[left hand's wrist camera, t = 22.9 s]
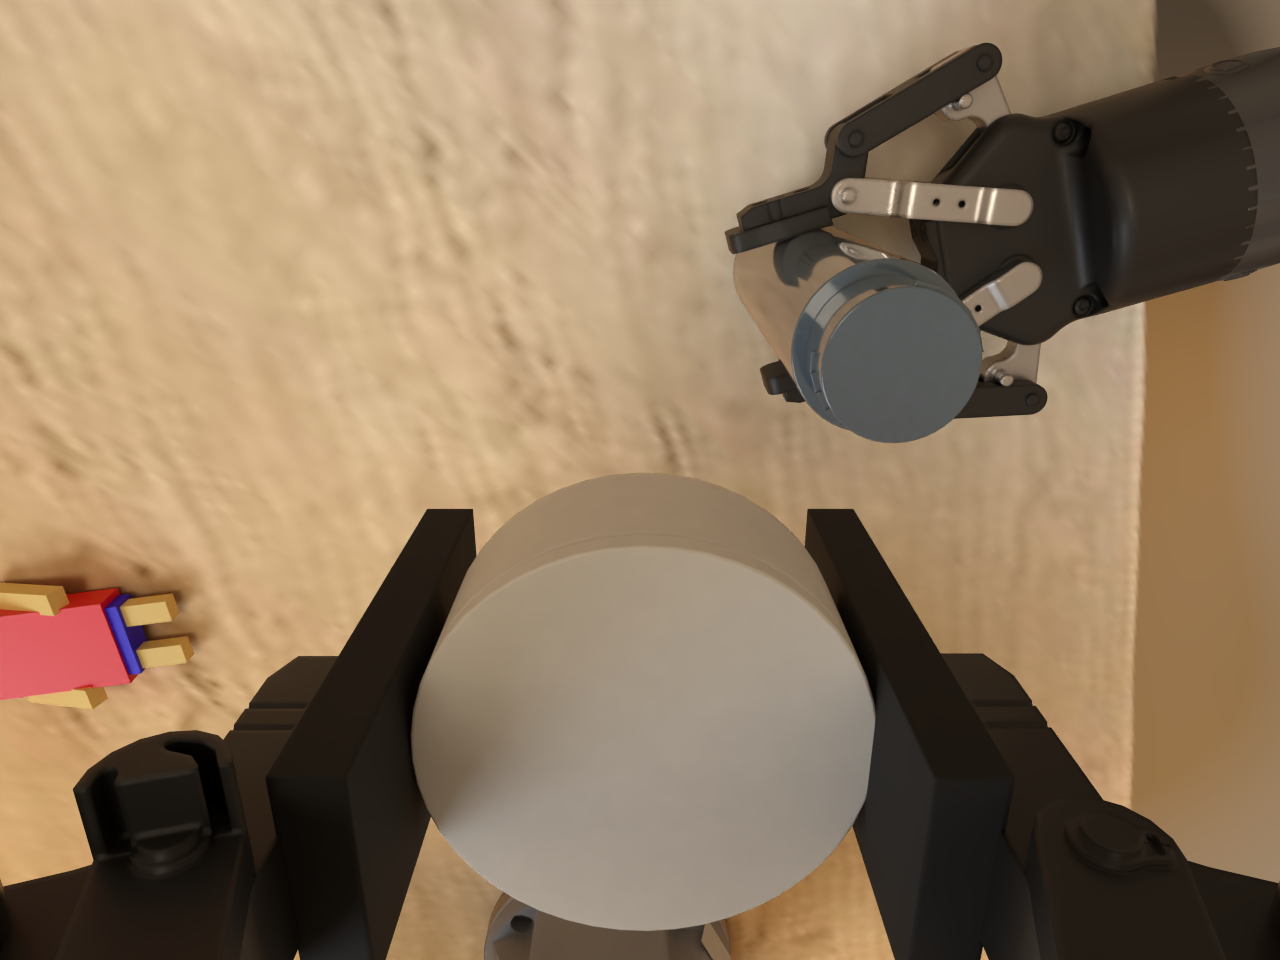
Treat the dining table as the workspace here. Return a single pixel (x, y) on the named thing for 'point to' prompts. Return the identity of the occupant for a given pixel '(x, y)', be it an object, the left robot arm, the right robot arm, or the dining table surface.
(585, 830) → the lid
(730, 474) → the dining table surface
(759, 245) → the right robot arm
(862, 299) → the grey cylinder
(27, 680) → the toy figure
